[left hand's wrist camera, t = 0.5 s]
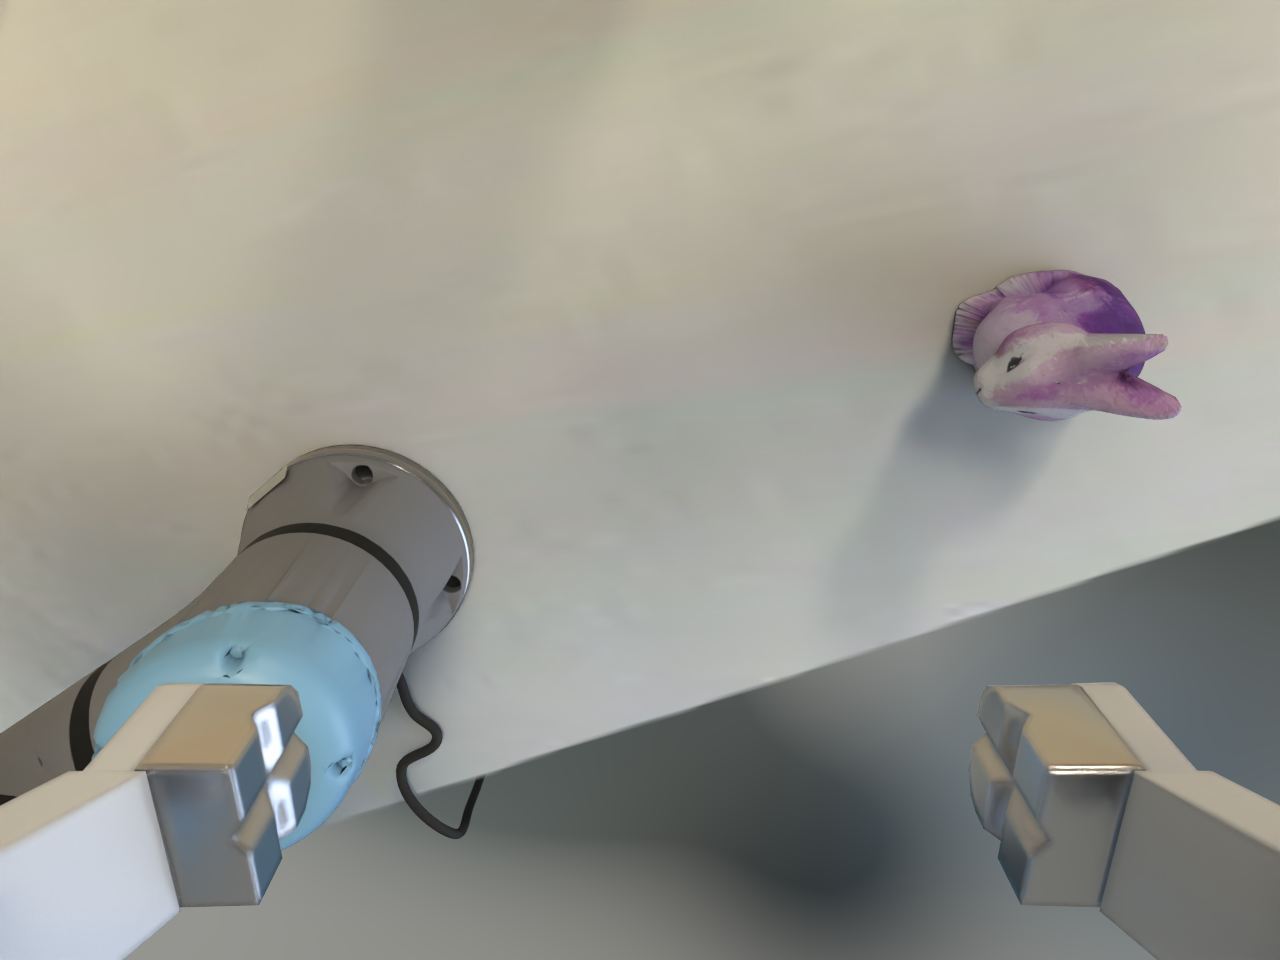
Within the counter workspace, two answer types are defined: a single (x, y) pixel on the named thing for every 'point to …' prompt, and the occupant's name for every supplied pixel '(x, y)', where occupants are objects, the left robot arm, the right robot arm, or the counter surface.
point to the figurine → (1059, 349)
